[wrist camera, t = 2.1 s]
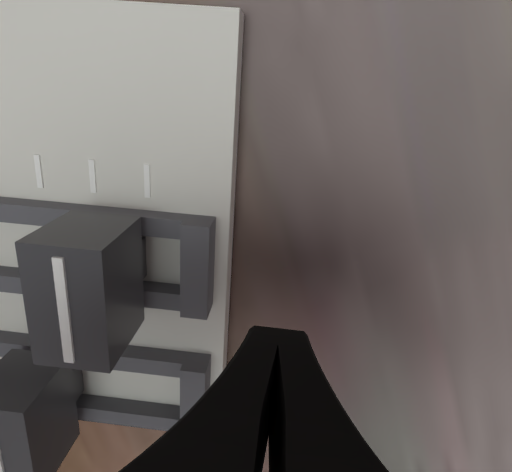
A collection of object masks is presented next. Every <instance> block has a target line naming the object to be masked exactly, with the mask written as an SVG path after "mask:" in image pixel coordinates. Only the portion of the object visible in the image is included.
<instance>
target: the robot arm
mask: <svg viewBox="0 0 512 472" xmlns="http://www.w3.org/2000/svg"><path fill="white" fill-rule="evenodd" d="M268 435H269V472H389V471H388V470H387V469H386V468H385V466H384V465H383V464H382V463H381V461H380V460H379V459H378V457H377V456H376V455H375V453H374V452H373V451H372V449H371V448H370V447H369V445H368V444H367V443H366V441H365V440H364V439H363V437H362V436H361V434H360V433H359V431H358V430H357V428H356V427H355V425H354V424H353V422H352V421H351V419H350V418H349V416H348V415H347V413H346V411H345V410H344V408H343V407H342V405H341V403H340V402H339V400H338V398H337V397H336V395H335V393H334V391H333V390H332V388H331V386H330V384H329V382H328V380H327V379H326V377H325V375H324V373H323V371H322V369H321V367H320V365H319V363H318V361H317V358H316V356H315V354H314V352H313V349H312V347H311V344H310V341H309V338H308V336H307V334H306V333H305V332H304V331H297V330H288V329H279V328H270V327H261V326H253V327H252V328H250V329H249V331H248V334H247V335H246V337H245V339H244V341H243V343H242V344H241V346H240V348H239V349H238V351H237V352H236V354H235V355H234V357H233V358H232V359H231V361H230V362H229V363H228V365H227V366H226V367H225V369H224V370H223V371H222V373H221V374H220V375H219V377H218V378H217V379H216V380H215V382H214V383H213V384H212V385H211V386H210V387H209V388H208V390H207V391H206V392H205V393H204V394H203V395H202V397H201V398H200V399H199V400H198V401H197V402H196V403H195V404H194V405H193V406H192V407H191V409H190V410H189V411H188V412H187V413H186V414H185V415H184V416H183V417H182V418H181V419H180V420H179V421H178V422H176V423H175V424H174V425H173V426H172V427H171V428H170V429H169V430H168V431H167V432H166V433H165V434H164V435H163V436H161V437H160V438H159V439H158V440H157V441H156V442H154V443H153V444H152V445H151V446H150V447H149V448H147V449H146V450H145V451H144V452H143V453H142V454H140V455H139V456H138V457H137V458H135V459H134V460H133V461H132V462H130V463H129V464H128V465H127V466H125V467H124V468H123V469H121V470H120V471H119V472H262V468H263V463H264V457H265V452H266V446H267V441H268Z"/></svg>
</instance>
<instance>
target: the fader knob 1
mask: <svg viewBox="0 0 512 472" xmlns="http://www.w3.org/2000/svg"><path fill="white" fill-rule="evenodd" d="M15 249H16V255H17V262H18V268H19V275H20V281H21V288H22V294H23V301H24V307H25V314H26V320H27V327H28V333H29V340H30V346H31V353H32V359H33V364H34V365H43V366H51V367H59V368H68V369H76V370H85V371H93V372H102V373H111V371H112V370H113V368H114V367H115V365H116V364H117V362H118V360H119V359H120V357H121V356H122V354H123V353H124V351H125V349H126V348H127V346H128V345H129V343H130V342H131V340H132V338H133V337H134V335H135V334H136V332H137V331H138V329H139V327H140V326H141V324H142V323H143V321H144V320H145V317H144V288H143V279H144V278H145V277H146V276H147V266H146V236H142V229H141V216H131V215H121V214H110V213H99V212H89V211H78V210H70V211H69V212H67V213H65V214H63V215H62V216H60V217H58V218H56V219H55V220H53V221H51V222H49V223H47V224H46V225H44V226H42V227H40V228H39V229H37V230H35V231H33V232H32V233H30V234H28V235H26V236H25V237H23V238H21V239H19V240H18V241H16V242H15Z"/></svg>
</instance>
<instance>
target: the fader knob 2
mask: <svg viewBox="0 0 512 472" xmlns="http://www.w3.org/2000/svg"><path fill="white" fill-rule="evenodd" d="M83 391H84V384H83V374H82V370H76V369H68V368H59V367H51V366H43V365H34V364H33V359H32V353H31V351H29V350H21V349H11V350H10V351H9V352H8V353H7V354H6V355H4V356H3V357H2V358H1V359H0V472H56V471H57V469H58V468H59V466H60V465H61V463H62V461H63V460H64V458H65V456H66V455H67V453H68V452H69V450H70V448H71V447H72V445H73V443H74V442H75V440H76V439H77V437H78V435H79V434H80V432H79V423H78V414H77V405H76V401H77V400H78V398H79V397H80V396H81V394H82V393H83Z"/></svg>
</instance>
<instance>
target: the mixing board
mask: <svg viewBox="0 0 512 472" xmlns="http://www.w3.org/2000/svg"><path fill="white" fill-rule="evenodd" d="M243 30H244V13H243V12H242V10H241V9H240V8H233V7H217V6H200V5H184V4H168V3H152V2H136V1H120V0H0V359H1V358H2V357H3V356H4V355H6V354H7V353H8V352H9V351H10V350H11V349H21V350H29V351H31V346H30V340H29V333H28V327H27V320H26V314H25V307H24V301H23V294H22V288H21V281H20V275H19V268H18V262H17V255H16V249H15V242H16V241H18V240H19V239H21V238H23V237H25V236H26V235H28V234H30V233H32V232H33V231H35V230H37V229H39V228H40V227H42V226H44V225H46V224H47V223H49V222H51V221H53V220H55V219H56V218H58V217H60V216H62V215H63V214H65V213H67V212H69V211H70V210H78V211H89V212H99V213H110V214H121V215H131V216H141V229H142V236H146V266H147V276H146V277H145V278H144V279H143V288H144V317H145V320H144V321H143V323H142V324H141V326H140V327H139V329H138V331H137V332H136V334H135V335H134V337H133V338H132V340H131V342H130V343H129V345H128V346H127V348H126V349H125V351H124V353H123V354H122V356H121V357H120V359H119V360H118V362H117V364H116V365H115V367H114V368H113V370H112V371H111V373H102V372H93V371H85V370H82V374H83V384H84V391H83V393H82V394H81V396H80V397H79V398H78V400H77V401H76V405H77V414H78V420H83V421H91V422H99V423H107V424H115V425H123V426H131V427H139V428H147V429H155V430H163V431H168V430H169V429H170V428H171V427H172V426H173V425H174V424H175V423H176V422H178V421H179V420H180V419H181V418H182V417H183V416H184V415H185V414H186V413H187V412H188V411H189V410H190V409H191V407H192V406H193V405H194V404H195V403H196V402H197V401H198V400H199V399H200V398H201V397H202V395H203V394H204V393H205V392H206V391H207V390H208V388H209V387H210V386H211V385H212V384H213V383H214V382H215V380H216V379H217V378H218V377H219V375H220V374H221V373H222V371H223V370H224V369H225V367H226V363H227V343H228V324H229V304H230V284H231V265H232V245H233V226H234V206H235V186H236V167H237V147H238V128H239V108H240V89H241V69H242V49H243Z"/></svg>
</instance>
